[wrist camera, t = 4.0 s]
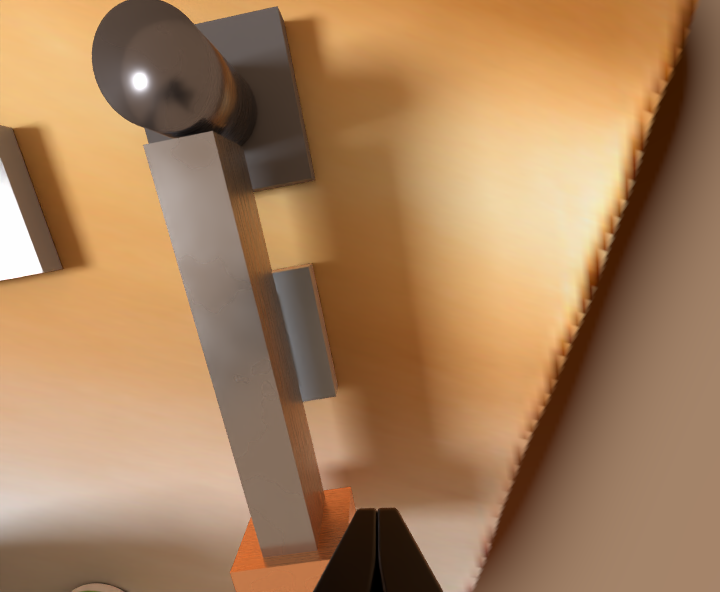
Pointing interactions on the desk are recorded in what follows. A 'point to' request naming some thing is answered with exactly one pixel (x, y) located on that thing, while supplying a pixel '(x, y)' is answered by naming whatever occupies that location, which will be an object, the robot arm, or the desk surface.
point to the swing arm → (226, 281)
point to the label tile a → (21, 218)
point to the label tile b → (306, 331)
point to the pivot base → (264, 96)
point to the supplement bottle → (97, 588)
